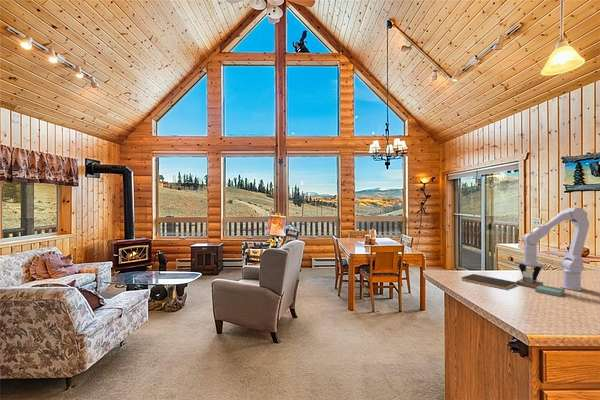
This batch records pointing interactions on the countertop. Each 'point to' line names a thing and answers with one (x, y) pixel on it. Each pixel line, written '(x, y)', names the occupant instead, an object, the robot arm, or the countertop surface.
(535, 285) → the stand
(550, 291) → the stand
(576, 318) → the countertop surface
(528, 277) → the block
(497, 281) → the hardcover book
